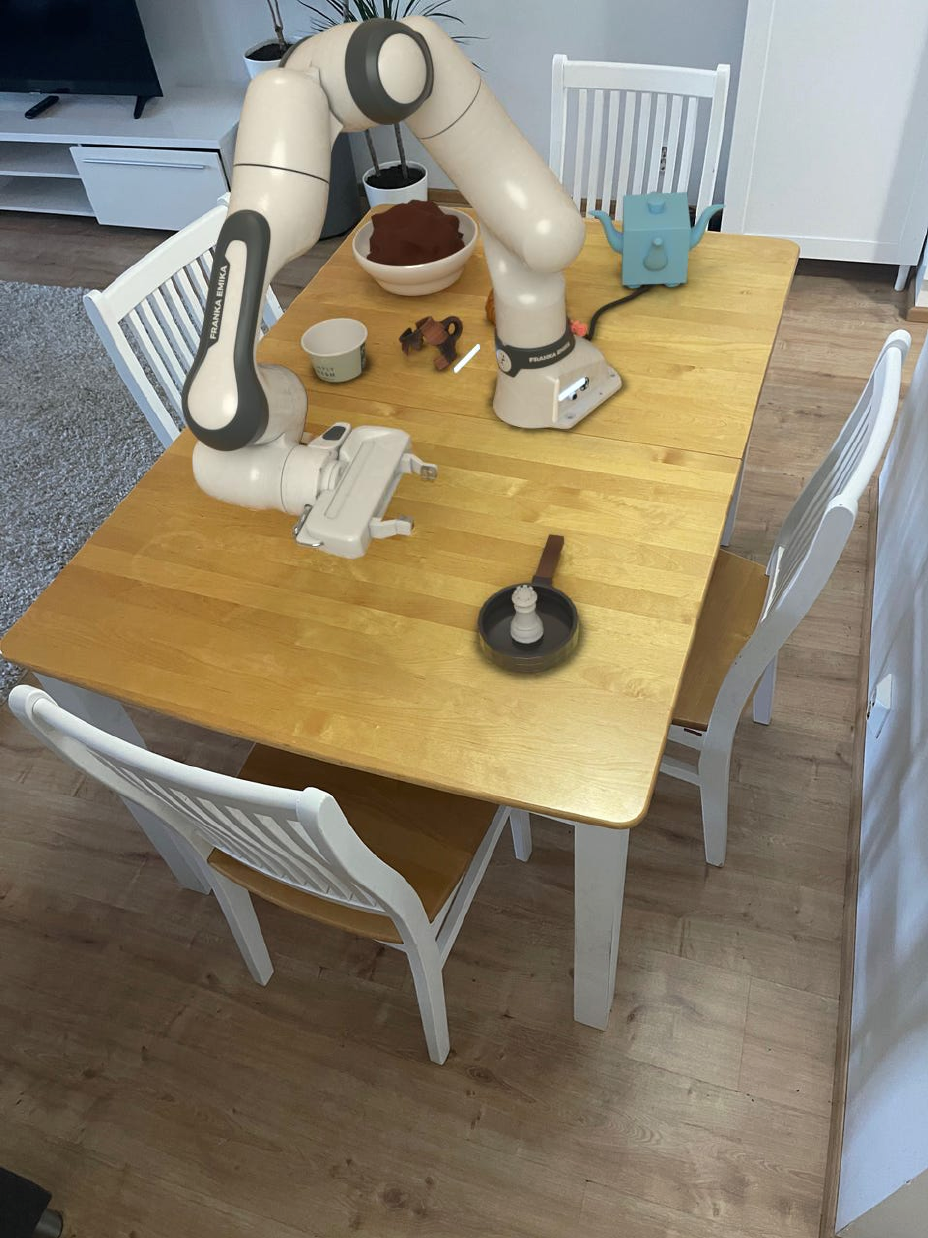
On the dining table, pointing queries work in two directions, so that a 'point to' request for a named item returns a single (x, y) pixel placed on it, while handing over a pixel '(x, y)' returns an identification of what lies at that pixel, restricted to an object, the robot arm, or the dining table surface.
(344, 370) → the food container
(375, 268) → the white bowl
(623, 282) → the teakettle
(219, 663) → the dining table surface
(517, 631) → the rook chess piece
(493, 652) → the pan
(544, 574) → the pan handle
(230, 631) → the dining table surface
